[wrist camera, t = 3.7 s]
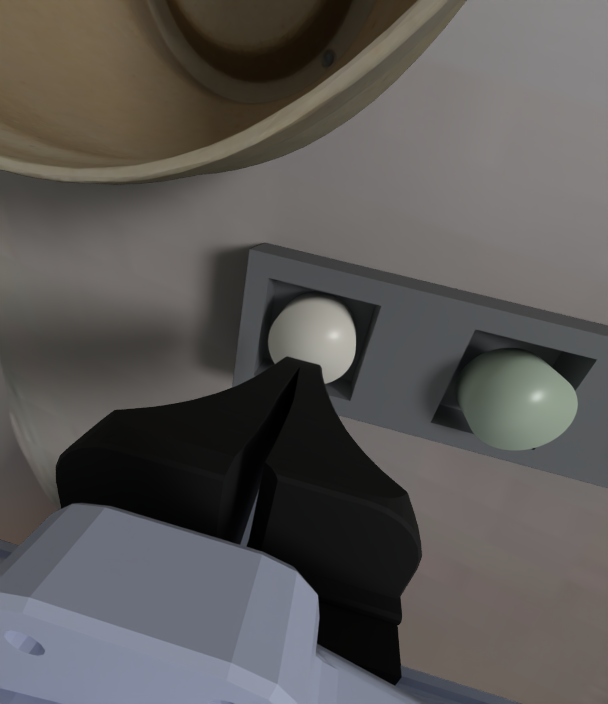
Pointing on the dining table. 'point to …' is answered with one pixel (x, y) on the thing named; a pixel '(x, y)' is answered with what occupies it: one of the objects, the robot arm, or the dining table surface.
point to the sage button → (515, 399)
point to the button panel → (431, 354)
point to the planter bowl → (192, 80)
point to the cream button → (315, 333)
